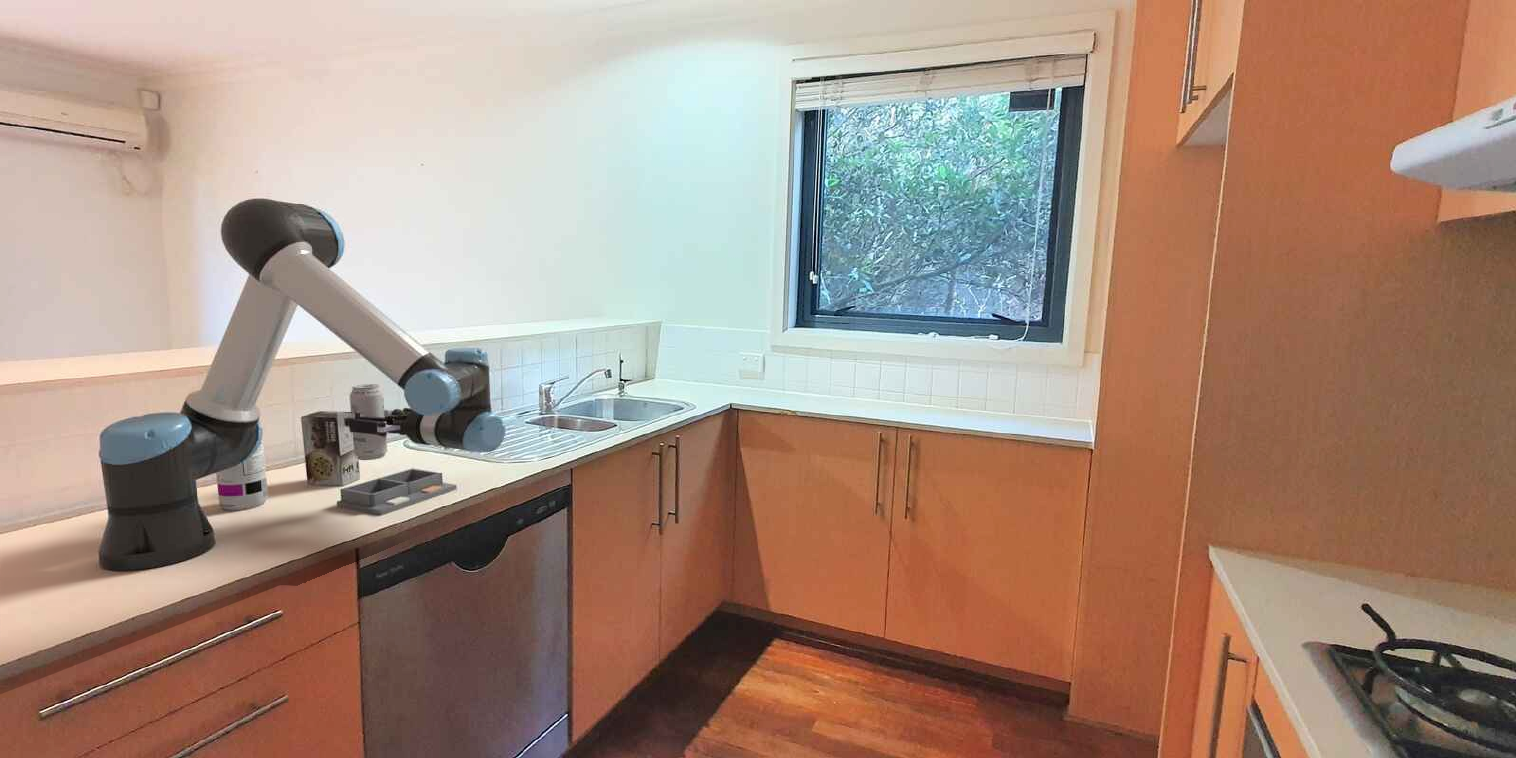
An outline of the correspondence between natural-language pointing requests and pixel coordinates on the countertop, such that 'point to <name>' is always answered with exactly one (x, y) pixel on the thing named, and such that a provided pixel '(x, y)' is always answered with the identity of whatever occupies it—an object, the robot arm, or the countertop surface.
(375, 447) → the energy drink can
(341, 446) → the coffee box
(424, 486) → the tray
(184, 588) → the countertop surface
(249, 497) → the supplement can
